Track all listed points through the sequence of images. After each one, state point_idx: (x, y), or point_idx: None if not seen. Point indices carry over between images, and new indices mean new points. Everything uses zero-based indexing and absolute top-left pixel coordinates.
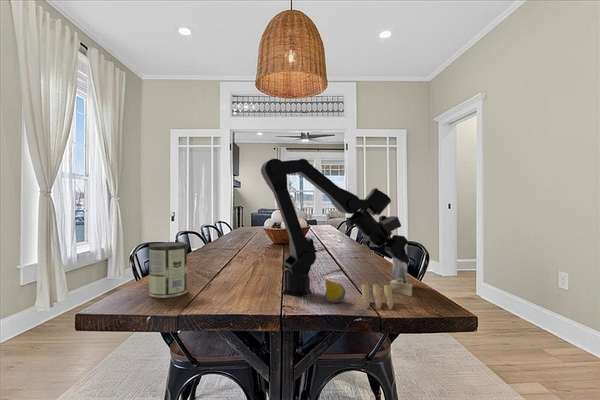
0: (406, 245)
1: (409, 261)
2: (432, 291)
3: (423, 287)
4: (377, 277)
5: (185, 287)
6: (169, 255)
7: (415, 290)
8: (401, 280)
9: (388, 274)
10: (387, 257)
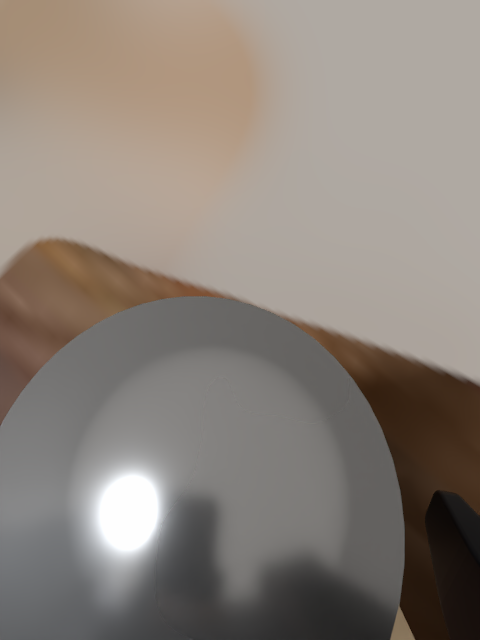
0: (368, 413)
1: (456, 496)
2: (470, 381)
3: (362, 359)
4: None
5: None
6: None
7: (419, 467)
8: None
9: (13, 320)
10: None
